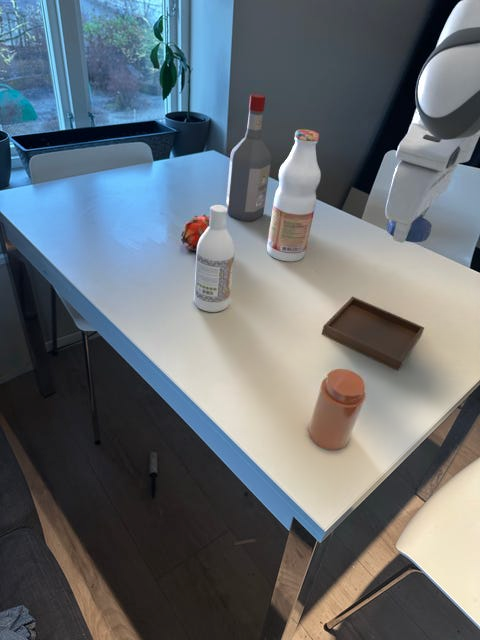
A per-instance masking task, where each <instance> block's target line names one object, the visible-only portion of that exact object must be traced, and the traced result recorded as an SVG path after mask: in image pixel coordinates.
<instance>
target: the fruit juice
mask: <svg viewBox="0 0 480 640" xmlns="http://www.w3.org/2000/svg"><path fill="white" fill-rule="evenodd" d="M319 137H320V134H319V133H318V132H316V131H314V130H311V129H296V131H295V133H294V145H293V146H292V149H291V151H290V153H289V155H288V156H287V158H286V159H285V160H284V162H283V163H282V164H281V165H280V167H279V170H278V187H277V189H276V191H275V194H274V198H273V203H272V212H271V218H270V225H269V230H268V237H267V244H266V250H267V253H268V255H270V256H271V257H272V258H273V259H276V260H279V261H281V262H282V261H283V262H298V261H300V260H302V259H303V258H304V257H305V255H306V252H307V247H308V243H309V237H310V233H311V228H312V225H313V224H312V223H313V219H314V213H315V209H316V206H317V205H316V204H317V193H316V192H317V188H318V186H319V185H320V182H321V177H322V174H321V173H322V172H321V169H320V167H319V164H318V159H317V149H316V148H317V147H316V146H317V144H318V142H319Z"/></svg>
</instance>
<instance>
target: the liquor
mask: <svg viewBox="0 0 480 640" xmlns="http://www.w3.org/2000/svg"><path fill="white" fill-rule="evenodd" d="M265 104H266V95H263V94H256V93H252V94H250V95H249V103H248V117H247V118H248V119H247V127H246V132H245V135H244V136H243V137H244V138H242V139H241V140H240V141H239V142H238V143H237V144H236V145H235V146H234V147H233V148H232V150H231V152H230V157H229V168H228V179H227V189H226V191H227V192H226V200H225V201H226V202H225V207H226V208H227V214H228V216H229V217H231V218H234V219H237V220H239V221H243V222H254V221H256V220H257V219H258V218H261V217H262V216H263V214H264V212H265V205H266V198H267V191H268V184H269V178H270V172H271V171H270V170H271V163H272V154H271V151H270V150H269V149H268V147H267V146H266V144H265V143H264V140H263V139H262V125H263V116H264V111H265Z"/></svg>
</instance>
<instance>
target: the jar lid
mask: <svg viewBox="0 0 480 640" xmlns="http://www.w3.org/2000/svg"><path fill="white" fill-rule="evenodd" d="M432 228H433V224H432V223H431V222H430V221H429V220H428V219H426V218H422V217H420V216H419V217H418V218H416V219H415V220H414V221H413V222H412V224H411V227H410V233H409V235H408V238H407V239H406V240H405V241H404V242H409V243H423V242H425V241H427V240H428V238H429V237H430V234H431V231H432ZM395 230H396V222H394V221H391V220H389V219H388V221H387V224H386V232H387V233H388V235H390V236H392V237H393V235H394V232H395Z"/></svg>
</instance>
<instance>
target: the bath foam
mask: <svg viewBox="0 0 480 640" xmlns="http://www.w3.org/2000/svg"><path fill="white" fill-rule="evenodd" d="M209 209H210V210H209V217H210V224H209V227H208V228H207V229H206V231H205V232H204V233H203V234H202V236H201V237H200V239H199V242H198V245H197V249H196V253H195V254H196V255H195V258H196V259H195V274H194V275H195V277H194V278H195V279H194V293H193V295H194V296H193V300H194V304H195V306H196V307H197V308H198V309H200V310H202V311H205V312H210V313H217V312H221V311H224V310H226V309H227V308H228V306H229V305H230V298H231V288H232V280H233V272H234V271H233V270H234V261H235V244H234V240H233V238H232V236H231V234H230V232H229V230H228V229H227V216H228V215H227V214H228V212H227V208H226V205H223V204H222V205H221V204H214V205H212V206H210V208H209Z"/></svg>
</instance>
